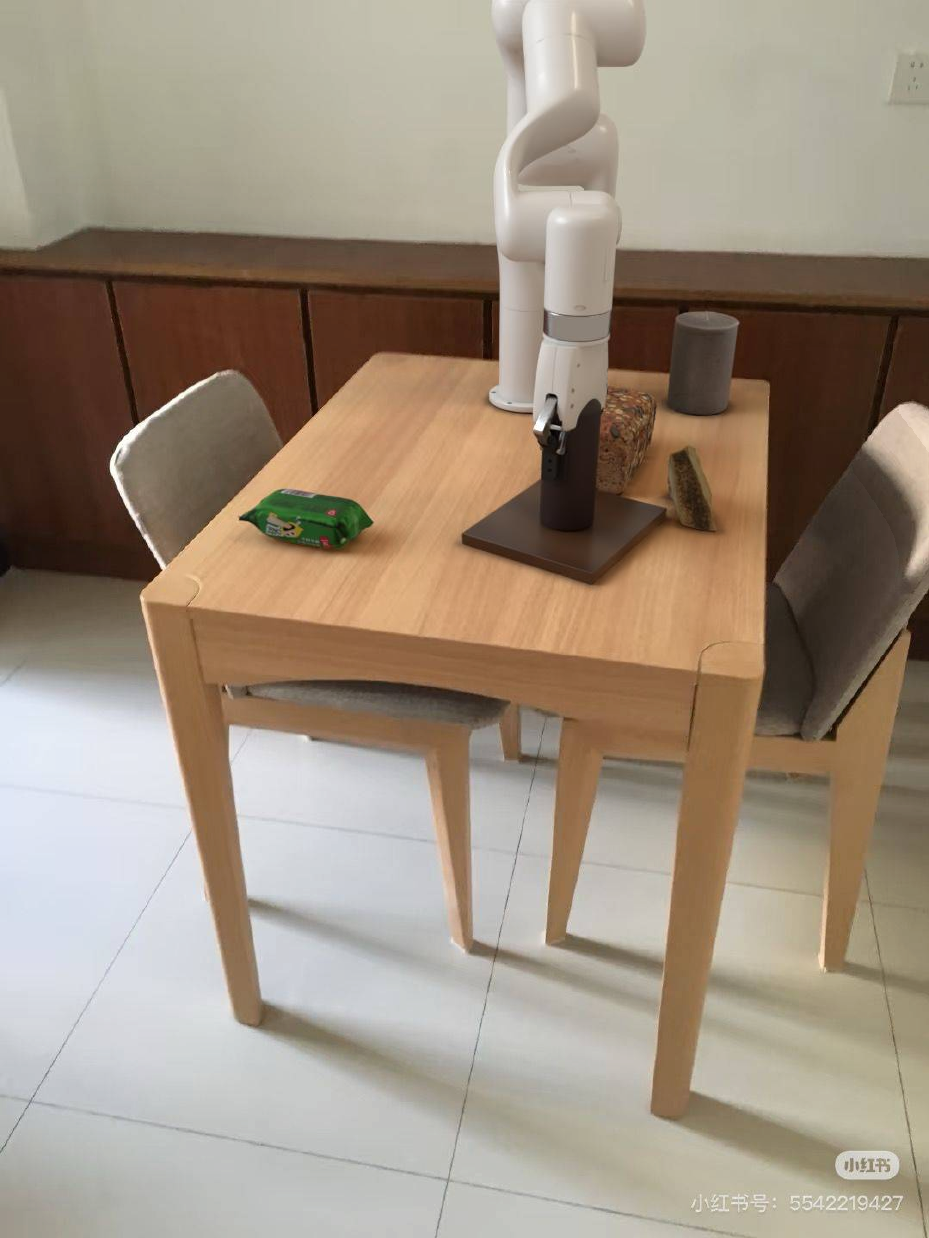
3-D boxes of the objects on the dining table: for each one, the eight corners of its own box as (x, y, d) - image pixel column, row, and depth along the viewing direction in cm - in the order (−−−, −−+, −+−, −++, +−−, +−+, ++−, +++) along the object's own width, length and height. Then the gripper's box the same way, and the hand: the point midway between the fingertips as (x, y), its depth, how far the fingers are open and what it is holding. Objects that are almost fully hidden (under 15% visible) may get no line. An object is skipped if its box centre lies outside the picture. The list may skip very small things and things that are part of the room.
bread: (624, 499, 135) (630, 428, 130) (547, 487, 139) (550, 418, 133) (655, 447, 150) (662, 382, 145) (585, 438, 153) (589, 373, 148)
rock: (652, 471, 137) (632, 491, 129) (697, 426, 133) (680, 444, 124) (708, 528, 137) (692, 552, 129) (756, 486, 133) (743, 507, 124)
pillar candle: (664, 413, 162) (674, 318, 154) (668, 392, 170) (677, 301, 162) (727, 418, 160) (740, 322, 152) (728, 396, 168) (740, 304, 160)
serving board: (544, 485, 139) (544, 475, 138) (666, 518, 131) (667, 508, 130) (461, 543, 125) (461, 533, 125) (591, 585, 117) (592, 573, 116)
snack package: (267, 515, 132) (262, 478, 130) (377, 533, 128) (374, 495, 125) (238, 540, 127) (232, 502, 124) (352, 560, 122) (349, 521, 119)
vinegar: (590, 507, 130) (600, 352, 120) (597, 532, 125) (608, 372, 114) (537, 508, 130) (542, 353, 119) (541, 533, 124) (548, 373, 114)
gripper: (584, 301, 122) (576, 441, 132) (506, 338, 110) (504, 489, 120) (641, 310, 118) (629, 454, 128) (568, 350, 106) (560, 505, 116)
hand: (569, 470), depth 124 cm, fingers closed on vinegar, 6 cm apart
